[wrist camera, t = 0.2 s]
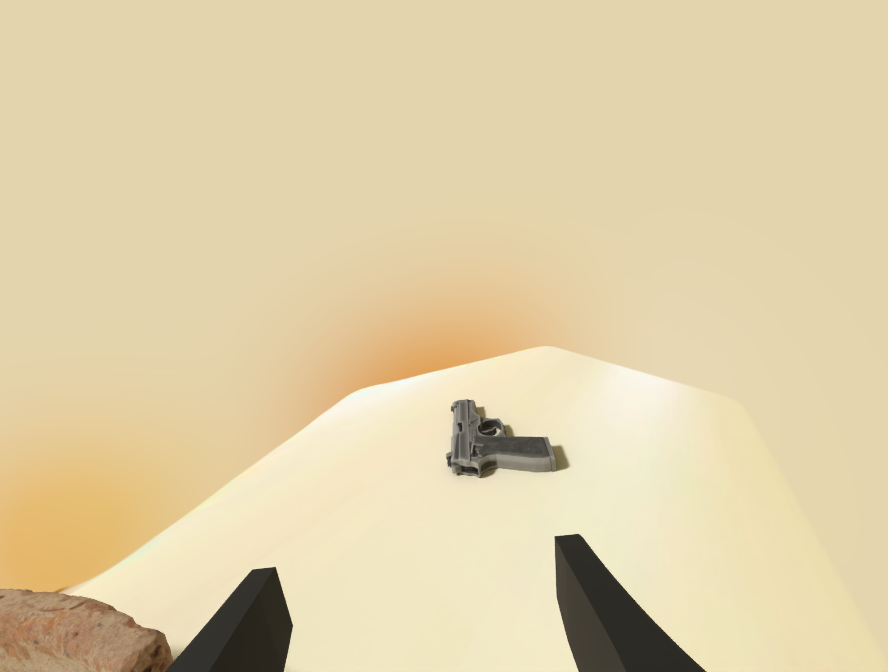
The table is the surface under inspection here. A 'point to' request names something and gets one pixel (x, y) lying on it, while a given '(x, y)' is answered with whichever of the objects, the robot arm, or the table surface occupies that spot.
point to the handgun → (493, 445)
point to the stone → (74, 636)
